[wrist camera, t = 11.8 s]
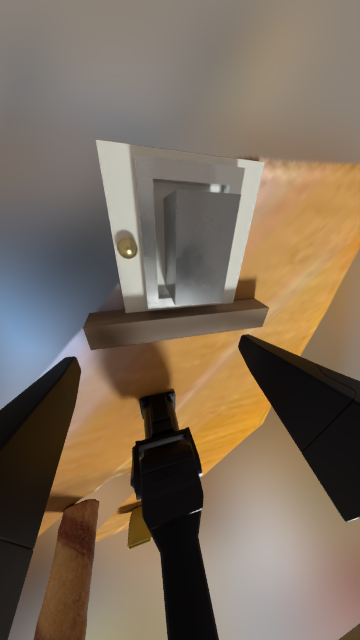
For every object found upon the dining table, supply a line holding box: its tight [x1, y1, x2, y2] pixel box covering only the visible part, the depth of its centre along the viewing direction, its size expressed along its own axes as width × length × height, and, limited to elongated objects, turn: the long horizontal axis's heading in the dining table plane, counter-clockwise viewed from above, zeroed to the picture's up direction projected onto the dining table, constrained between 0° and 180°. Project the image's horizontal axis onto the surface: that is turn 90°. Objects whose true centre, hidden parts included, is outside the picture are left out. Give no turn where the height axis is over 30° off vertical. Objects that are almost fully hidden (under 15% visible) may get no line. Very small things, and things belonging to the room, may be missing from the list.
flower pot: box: [128, 506, 152, 550], centre depth 62 cm, size 9×9×9 cm
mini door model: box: [96, 140, 265, 313], centre depth 16 cm, size 14×14×2 cm
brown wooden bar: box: [83, 298, 269, 350], centre depth 20 cm, size 3×22×3 cm, turn 88°
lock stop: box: [163, 189, 241, 306], centre depth 14 cm, size 8×4×5 cm, turn 178°
